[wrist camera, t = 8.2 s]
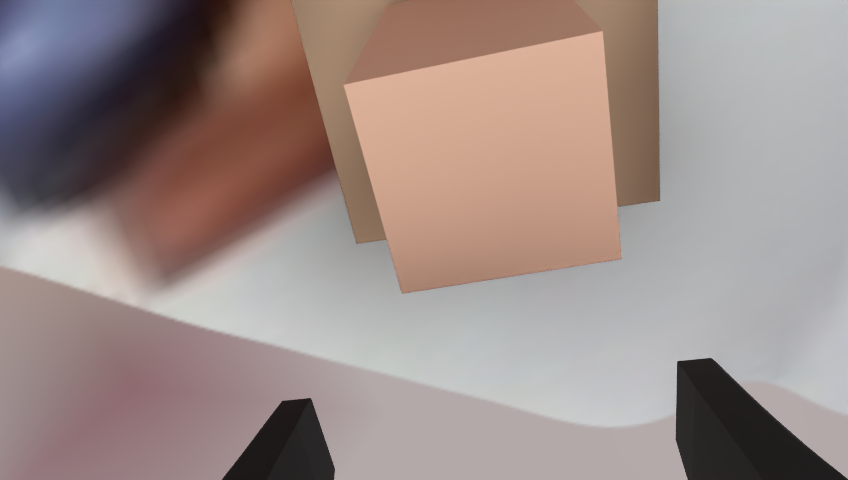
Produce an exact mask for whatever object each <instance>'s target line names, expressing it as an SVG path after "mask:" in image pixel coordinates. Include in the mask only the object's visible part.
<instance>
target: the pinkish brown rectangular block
mask: <svg viewBox="0 0 848 480" xmlns="http://www.w3.org/2000/svg"><path fill="white" fill-rule="evenodd" d="M344 88H345V92H346V95H347V99H348V102H349V106H350V109H351V113H352V117H353V120H354V124H355V127H356V131H357V134H358V138H359V142H360V145H361V149H362V152H363V156H364V159H365V163H366V167H367V170H368V174H369V177H370V181H371V184H372V188H373V192H374V195H375V199H376V202H377V206H378V209H379V213H380V217H381V220H382V224H383V227H384V231H385V234H386V238H387V242H388V245H389V249H390V252H391V256H392V259H393V263H394V267H395V270H396V274H397V277H398V281H399V284H400V288H401V292H402V294H403V293H409V292H415V291H422V290H428V289H435V288H441V287H447V286H454V285H460V284H466V283H473V282H479V281H485V280H492V279H498V278H504V277H511V276H517V275H523V274H530V273H536V272H542V271H549V270H555V269H561V268H568V267H574V266H581V265H587V264H593V263H600V262H606V261H612V260H619V259H622V258H621V245H620V233H619V221H618V209H617V197H616V185H615V173H614V161H613V149H612V137H611V125H610V113H609V101H608V89H607V77H606V65H605V53H604V41H603V31H602V30H601V29H600V28H599V27H598V26H597V24H596V23H595V22H594V21H593V20H592V19H591V18H590V17H589V16H588V15H587V14H586V13H585V12H584V11H583V10H582V9H581V8H580V7H579V6H578V4H577V3H576V2H575V1H574V0H408V1H404V2H399V3H395V4H390V5H387V7H386V9H385V10H384V12H383V14H382V16H381V18H380V19H379V21H378V23H377V25H376V27H375V29H374V30H373V32H372V34H371V36H370V38H369V39H368V41H367V43H366V45H365V47H364V49H363V50H362V52H361V54H360V56H359V58H358V59H357V61H356V63H355V65H354V67H353V69H352V70H351V72H350V74H349V76H348V78H347V80H346V81H345V83H344Z"/></svg>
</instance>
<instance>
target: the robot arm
mask: <svg viewBox="0 0 848 480" xmlns="http://www.w3.org/2000/svg"><path fill="white" fill-rule="evenodd" d="M676 442H677V445H678V448H679V452H680V455H681V458H682V462H683V465H684V468H685V472H686V475H687V478H688V480H848V479H847V478H846V477H844V476H843V475H842V474H841V473H840V472H838V471H837V470H836V469H834V468H833V467H832V466H830V465H829V464H828V463H827V462H826V461H824V460H823V459H822V458H821V457H819V456H818V455H817V454H816V453H815V452H813V451H812V450H811V449H810V448H808V447H807V446H806V445H805V444H804V443H803V442H802V441H800V440H799V439H798V438H797V437H796V436H795V435H793V434H792V433H791V432H790V431H789V430H788V429H787V428H785V427H784V426H783V425H782V424H781V423H780V422H779V421H777V420H776V419H775V418H774V417H773V416H772V415H771V414H770V413H769V412H768V411H766V410H765V409H764V408H763V407H762V406H761V405H760V404H759V403H758V402H757V401H756V400H755V399H754V398H753V397H751V396H750V395H749V394H748V393H747V392H746V391H745V390H744V389H743V388H742V387H741V386H740V385H739V384H738V383H737V382H736V381H735V380H734V379H733V378H732V377H731V376H730V375H729V374H728V373H727V372H726V371H725V370H724V369H723V368H722V367H721V366H720V365H719V364H718V363H717V362H715V361H714V360H713V359H712V358H706V359H696V360H686V361H677V405H676ZM334 473H335V468H334V465H333V462H332V459H331V456H330V453H329V450H328V447H327V444H326V441H325V438H324V435H323V432H322V429H321V426H320V423H319V420H318V418H317V415H316V412H315V409H314V406H313V403H312V400H311V398H308V399H298V400H288V401H282V402H281V403H280V405H279V406H278V407H277V409H276V410H275V411H274V412H273V414H272V415H271V416H270V418H269V419H268V420H267V422H266V423H265V424H264V426H263V427H262V428H261V429H260V431H259V432H258V433H257V435H256V436H255V438H254V439H253V440H252V441H251V443H250V444H249V446H248V447H247V448H246V449H245V451H244V452H243V453H242V455H241V456H240V457H239V459H238V460H237V461H236V462H235V464H234V465H233V466H232V468H231V469H230V470H229V471H228V472H227V474H226V475H225V476H224V478H223V479H222V480H334Z"/></svg>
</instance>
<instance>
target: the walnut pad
mask: <svg viewBox="0 0 848 480" xmlns="http://www.w3.org/2000/svg"><path fill="white" fill-rule="evenodd" d="M404 1H408V0H291V3H292V7H293V10H294V14H295V18H296V21H297V25H298V29H299V32H300V36H301V40H302V44H303V47H304V51H305V55H306V58H307V62H308V66H309V70H310V73H311V77H312V81H313V84H314V88H315V92H316V96H317V99H318V103H319V107H320V110H321V114H322V118H323V121H324V125H325V129H326V133H327V136H328V140H329V144H330V147H331V151H332V155H333V159H334V162H335V166H336V170H337V173H338V177H339V181H340V185H341V188H342V192H343V196H344V199H345V203H346V207H347V211H348V214H349V218H350V222H351V225H352V229H353V233H354V236H355V240H356V244H358V243H365V242H372V241H379V240H386V239H387V238H386V234H385V231H384V227H383V224H382V220H381V217H380V213H379V209H378V206H377V202H376V199H375V195H374V192H373V188H372V184H371V181H370V177H369V174H368V170H367V167H366V163H365V159H364V156H363V152H362V149H361V145H360V142H359V138H358V134H357V131H356V127H355V124H354V120H353V117H352V113H351V109H350V106H349V102H348V99H347V95H346V92H345V88H344V83H345V81H346V80H347V78H348V76H349V74H350V72H351V70H352V69H353V67H354V65H355V63H356V61H357V59H358V58H359V56H360V54H361V52H362V50H363V49H364V47H365V45H366V43H367V41H368V39H369V38H370V36H371V34H372V32H373V30H374V29H375V27H376V25H377V23H378V21H379V19H380V18H381V16H382V14H383V12H384V10H385V9H386V7H387V5H390V4H395V3H399V2H404ZM574 1H575V2H576V3H577V4H578V6H579V7H580V8H581V9H582V10H583V11H584V12H585V13H586V14H587V15H588V16H589V17H590V18H591V19H592V20H593V21H594V22H595V23H596V24H597V26H598V27H599V28H600V29H601V30H602V31H603V41H604V53H605V65H606V77H607V89H608V101H609V113H610V125H611V137H612V149H613V161H614V173H615V185H616V197H617V207H620V206H627V205H634V204H641V203H648V202H655V201H660V174H659V86H658V0H574Z"/></svg>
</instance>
